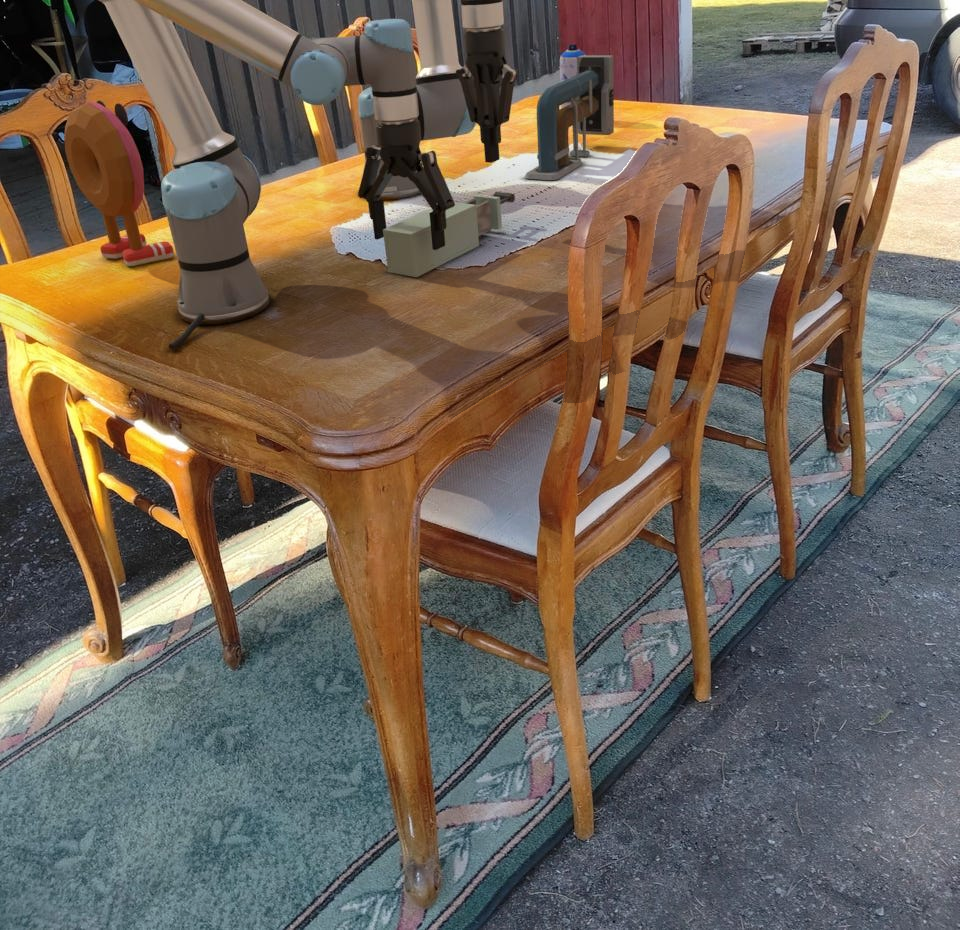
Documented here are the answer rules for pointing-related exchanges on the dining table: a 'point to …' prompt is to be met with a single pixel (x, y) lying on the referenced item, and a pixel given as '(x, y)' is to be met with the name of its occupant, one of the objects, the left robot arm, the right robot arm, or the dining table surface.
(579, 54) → the aerosol can
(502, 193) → the drawer
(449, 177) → the dining table surface
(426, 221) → the cabinet
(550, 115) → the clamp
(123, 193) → the toy
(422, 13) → the right robot arm
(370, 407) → the dining table surface
